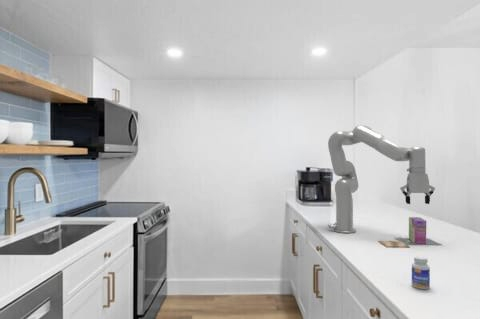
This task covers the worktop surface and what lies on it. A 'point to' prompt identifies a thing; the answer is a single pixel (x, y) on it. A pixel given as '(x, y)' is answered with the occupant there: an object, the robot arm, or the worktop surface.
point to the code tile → (409, 242)
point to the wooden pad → (394, 244)
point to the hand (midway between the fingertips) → (417, 203)
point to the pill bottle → (420, 273)
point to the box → (417, 230)
